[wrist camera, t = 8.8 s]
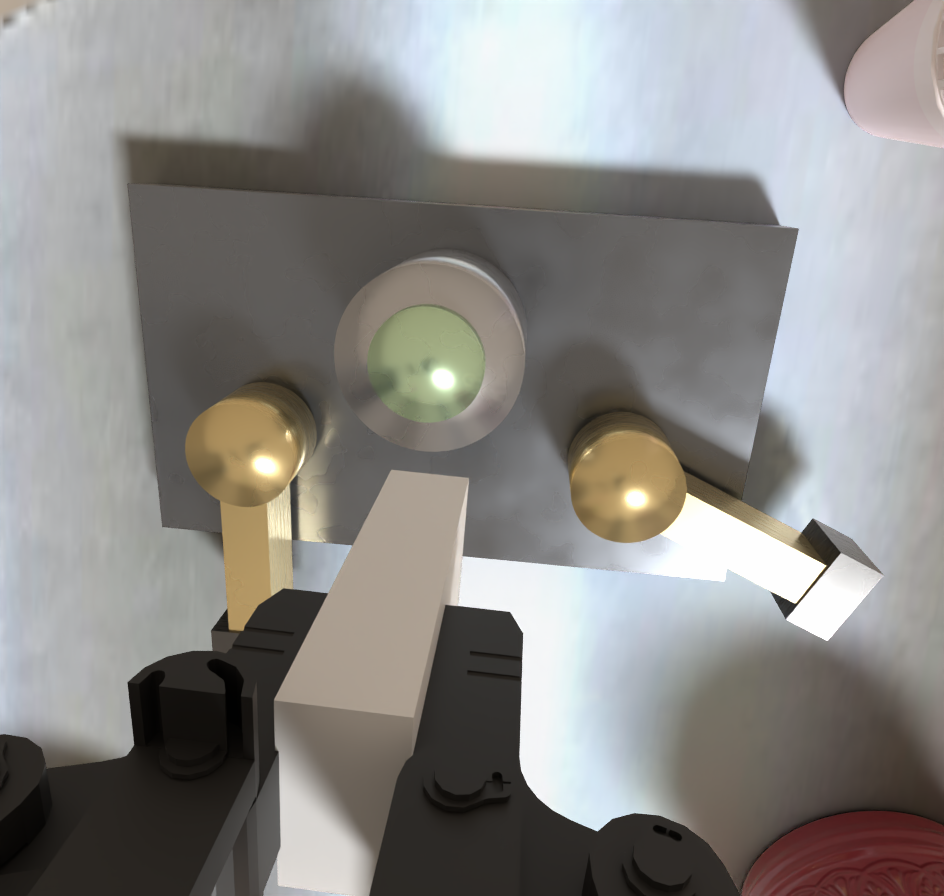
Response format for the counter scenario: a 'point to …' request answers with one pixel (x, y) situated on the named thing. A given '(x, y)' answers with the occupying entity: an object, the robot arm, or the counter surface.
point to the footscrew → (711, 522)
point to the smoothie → (901, 77)
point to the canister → (853, 858)
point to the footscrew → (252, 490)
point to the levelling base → (576, 369)
